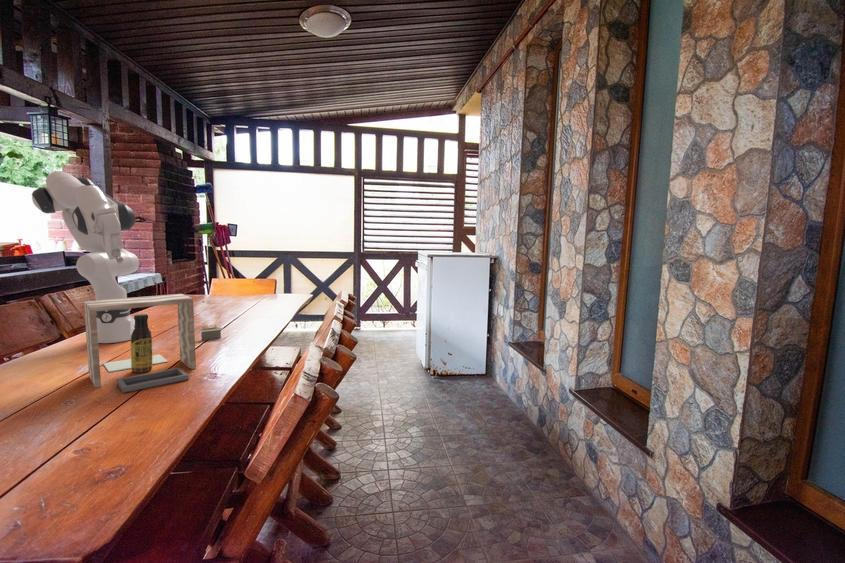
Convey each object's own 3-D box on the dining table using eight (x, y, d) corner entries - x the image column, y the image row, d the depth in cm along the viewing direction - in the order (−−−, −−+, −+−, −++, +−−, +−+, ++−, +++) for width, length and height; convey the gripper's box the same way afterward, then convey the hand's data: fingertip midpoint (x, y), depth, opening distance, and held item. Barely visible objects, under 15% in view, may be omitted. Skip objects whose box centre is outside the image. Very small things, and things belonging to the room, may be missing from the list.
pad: (103, 364, 157) (103, 363, 157) (159, 355, 169) (159, 354, 169) (109, 372, 148) (108, 371, 148) (167, 362, 161) (167, 361, 161)
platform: (186, 339, 195) (186, 325, 195) (229, 334, 206) (228, 321, 205) (190, 345, 186) (190, 330, 185) (235, 339, 196) (234, 325, 196)
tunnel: (89, 376, 144) (83, 301, 141) (184, 359, 164) (181, 293, 161) (95, 387, 134) (89, 307, 131) (196, 368, 154) (193, 298, 151)
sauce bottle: (135, 374, 146) (132, 317, 144) (128, 371, 150) (125, 315, 148) (156, 370, 152) (153, 314, 149) (149, 366, 155) (146, 312, 153)
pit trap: (117, 384, 137) (116, 379, 137) (179, 372, 149) (179, 367, 149) (123, 393, 130) (122, 387, 130) (188, 380, 142) (188, 374, 142)
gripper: (95, 242, 156) (111, 273, 154) (92, 207, 142) (109, 241, 139) (115, 238, 161) (131, 268, 158) (114, 204, 146) (131, 236, 143)
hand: (121, 255), depth 149 cm, fingers open, 8 cm apart
